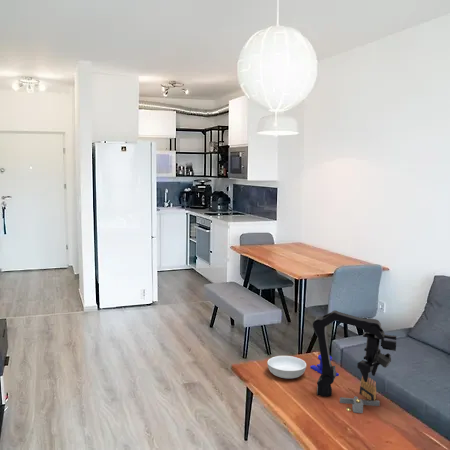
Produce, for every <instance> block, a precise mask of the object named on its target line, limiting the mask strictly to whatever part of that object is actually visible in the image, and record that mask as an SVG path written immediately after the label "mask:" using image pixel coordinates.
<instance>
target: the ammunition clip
mask: <svg viewBox="0 0 450 450" xmlns="http://www.w3.org/2000/svg"><path fill="white" fill-rule="evenodd" d="M360 381H361V382H360V386H359V394H360V395H362V396H363V397H365V399H366V400H377V383H376V380H374V379H373V378H371V377H368V380H367V382H365V381H364V379H363V376H362V375H361V380H360Z"/></svg>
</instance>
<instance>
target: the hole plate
mask: <svg viewBox="0 0 450 450" xmlns="http://www.w3.org/2000/svg"><path fill="white" fill-rule="evenodd" d="M353 399H354V397H352V398H351V397H342V396H341V397H339V403H340V404H348V405H349V404H350V405H353ZM361 399H362V401H363V406H373V407H380V406H381V405H380V403H381V401H380V400H377V399H376V400H369V399H367V398H365V399H364V398H361ZM345 409H346V411H347V412H350V411H352V409H351V407H349V406H348V407H346V408H345Z"/></svg>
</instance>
